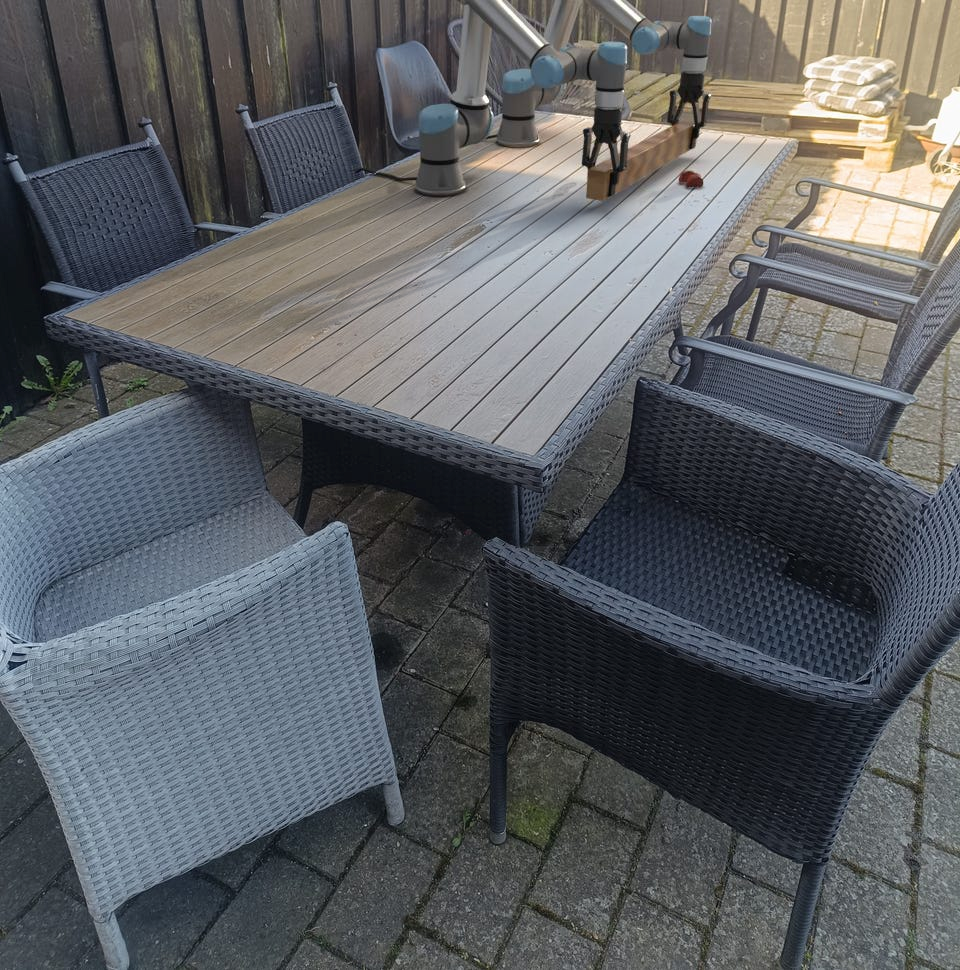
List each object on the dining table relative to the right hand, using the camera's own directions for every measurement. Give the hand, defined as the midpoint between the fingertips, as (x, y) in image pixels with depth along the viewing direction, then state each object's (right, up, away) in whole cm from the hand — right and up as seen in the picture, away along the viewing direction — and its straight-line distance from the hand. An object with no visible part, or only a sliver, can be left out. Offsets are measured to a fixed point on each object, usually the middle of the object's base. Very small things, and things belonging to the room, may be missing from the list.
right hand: (683, 147), depth 283 cm
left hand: (-34, -30, -43) cm, 62 cm away
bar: (-17, -16, -21) cm, 31 cm away
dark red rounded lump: (-3, -20, -21) cm, 30 cm away
